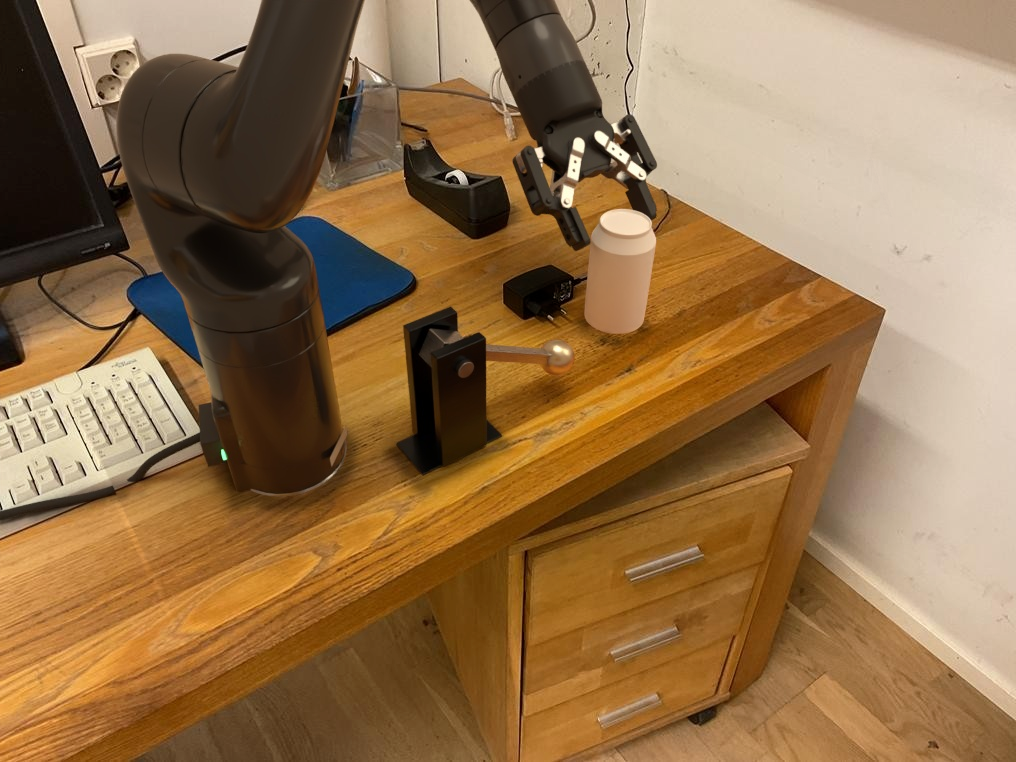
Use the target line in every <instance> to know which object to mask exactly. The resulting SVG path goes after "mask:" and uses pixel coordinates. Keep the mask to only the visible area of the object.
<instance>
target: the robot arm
mask: <svg viewBox="0 0 1016 762" xmlns="http://www.w3.org/2000/svg"><path fill="white" fill-rule="evenodd" d="M365 2H366V0H260V4H259V8H258V12H257V15H256V19H255V22H254V25H253V29H252V31H251V34H250V37H249V40H248V43H247V46H246V48H245V51H244V52H243V55H242V57H241V60H240V62H239V64H238V66H236V65H233V64H228V63H226V62H222V61H217V60H214V59H210V58H205V57H203V56H202V57H201V56H197V55H193V54H188V53H166V54H162V55H158V56H156V57H154V58H151V59H149V60H146V61H145V62H144V63H142V64H141V65H140V66H139V67H137V68H136V69H135V71H134V72H133V73H132V74H131V75H130V77H129V78H128V80H127V82H126V83H125V85H124V86H123V89H122V92H121V94H120V98H119V101H118V105H117V110H116V111H117V112H116V123H115V124H116V125H115V127H116V128H115V129H116V130H115V131H116V142H117V149H118V154H119V159H120V163H121V166H122V170H123V172H124V177H125V180H126V183H127V185H128V189H129V191H130V194H131V196H132V199H133V200H132V201H133V202H134V205H135V207H136V210H137V212H138V215H139V218H140V221H141V223H142V226H143V229H144V231H145V234H146V237H147V239H148V242H149V244H150V247H151V249H152V252H153V255H154V257H155V260H156V262H157V265H158V267H159V268H160V270H161V272H162V273H163V275H164V276H165V278H166V279H167V280H168V282H169V283H170V284H171V285H172V286H173V288H175V289H176V291H177V292H178V293H179V296H180V297H181V300H182V302H183V306H184V310H185V311H186V315H187V318H188V321H189V325H190V328H191V331H192V334H193V338H194V341H195V345H196V348H197V351H198V354H199V355H198V356H199V358H200V361H201V364H202V367H203V371H204V375H205V377H206V378H205V379H206V381H207V384H208V387H209V390H210V402H205V403H200V404H198V423H199V432H197V433H195V434H193V435H191V436H188V437H187V438H184V439H182V440H180V441H177V442H175V443H173V444H171V445H168V446H167V447H165V448H163V449H161V450H159V451H158V452H156V453H154V454H153V455H151V456H149V458H148V459H146V460H145V461H144V462H142V464H141V465H140V466H139V467H138V469H137V470H136V471H135V472H134V473H133V474H132V475H131V476H130V477H128V478H127V479H126V482H129V483H135V482H140V481H141V480H142V479H143V478H144V477H145V475H146V474H147V473H148V472H149V471H150V470H151V468H153V467H154V466H156V465H157V464H158V463H160V462H161V461H164V460H165V459H167V458H169V457H171V456H172V455H174V454H177V453H179V452H181V451H183V450H185V449H187V448H190V447H192V446H194V445H197V444H200V447H201V451H202V453H203V456H204V459H205V462H206V465H207V467H208V468H210V467H214V466H219V465H224V464H227V466H228V469H229V472H230V476H231V479H232V482H233V486H234V489H235V492H237V493H242V492H247V491H251V492H254V493H256V494H259V495H262V496H267V497H291V496H296V495H301V494H304V493H308V492H309V491H312V490H315V489H316V488H319V487H321V486H323V484H325V483H327V482H328V481H329V480H331V479H332V478H333V477H334V476H335V475H336V474H337V473H338V471H339V470H340V469H341V467H342V466H343V464H344V462H345V460H346V457H347V453H348V452H347V451H348V446H347V440H346V439H347V436H348V434H349V433H348V428H347V425H345V426H344V428H343V423H342V416H341V410H340V405H339V398H338V393H337V387H336V382H335V381H336V380H335V375H334V369H333V363H332V358H331V352H330V351H331V350H330V345H329V339H328V334H327V327H326V322H325V317H324V316H325V315H324V310H323V303H322V298H321V297H322V296H321V291H320V286H319V280H318V279H319V278H318V274H317V269H316V264H315V259H314V256H313V254H312V252H311V250H310V249H309V247H308V246H307V245H306V243H305V242H304V241H303V240H302V239H300V237H299V236H298V235H296V234H295V233H294V232H293V231H292V230H291V229H289V228H288V227H287V224H289V223H290V222H291V221H292V220H293V219H294V218H296V217H297V215H298V214H299V213H300V211H301V210H302V209H303V207H304V206H305V204H306V203H307V202H308V199H309V198H310V196H311V194H312V192H313V189H314V187H315V185H316V183H317V180H318V178H319V175H320V174H321V170H322V167H323V164H324V161H325V158H326V154H327V150H328V147H329V144H330V139H331V135H332V131H333V127H334V123H335V121H336V116H337V112H338V111H337V110H338V107H339V103H340V99H341V94H342V90H343V86H344V82H345V77H346V73H347V69H348V65H349V61H350V56H351V53H352V49H353V44H354V41H355V38H356V37H355V36H356V32H357V28H358V26H359V25H358V24H359V21H360V19H361V14H362V11H363V9H364V6H365ZM469 2H470V3H471V5H472V7H473V8H474V9H475V11H476V12H477V14H478V16H479V17H480V20H481V22H482V24H483V26H484V29H485V31H486V33H487V35H488V38H489V40H490V42H491V45H492V47H493V50H494V51H495V54H496V56H497V58H498V62H499V65H500V69H501V73H502V75H503V77H504V80H505V82H506V85H507V87H508V89H509V92H510V93H511V96H512V98H513V101H514V102H515V105H516V107H517V110H518V112H519V114H520V116H521V118H522V120H523V123H524V125H525V128H526V130H527V132H528V134H529V136H530V138H531V139H532V140H534V141H536V146H537V147H533V146H532V145H526V146H524V147H523V148H522V149H521V150H520V151H519V152H518V153H517V154H516V155H515V156H513V158H512V165H513V167H514V170H515V173H516V175H517V178H518V180H519V183H520V186H521V188H522V191H523V193H524V196H525V198H526V202H527V203H528V206H529V209H530V211H531V213H532V215H534V216H536V217H539V216H541V215H549V216H551V217H553V218H554V219H555V221H556V223H557V225H558V228H559V230H560V233H561V234H562V236H563V240H564V241H565V244H566V245H567V246H568V247H569V248H572V250H573V251H574V252H578V251H580V250H583V249H584V248H586V247H588V246H589V245H590V244H591V237H590V236H589V232H588V231H587V228H586V226H585V224H584V222H583V219H582V217H581V214H580V213H579V211H578V208H577V207H576V206H573V202H574V195H575V189H576V187H577V185H578V183H581V182H582V181H584V180H585V179H591V178H592V179H594V178H595V177H599V176H600V175H601V176H602V177H604V178H606V179H607V180H608V179H609V180H610V179H611V180H614V181H615V182H617V183H618V184H619V185H620V186H622V187H623V188H624V189H626V191H625V192H624V193H625V196H626V197H627V201H628V203H629V204H630V206H631V210H635V211H638V212H641V213H643V214H645V215H646V216H648V217H649V218H650V220H651V222H652V221H653V220H655V219H657V216H658V215H657V211H658V209H657V205H656V202H655V200H654V197H653V195H652V192H651V191H650V189H649V186H648V184H647V177H648V176H649V175H650V174H651V173H652V172H653V171H655V170H656V169H657V168H658V163H657V160H656V158H655V156H654V154H653V152H652V150H651V148H650V146H649V144H648V142H647V140H646V138H645V136H644V134H643V131H642V129H641V128H640V126H639V124H638V122H637V119H636V118H635V115H633V114H631V113H627V114H626V115H624V116H623V117H621V118H620V119H619V120H618V121H615V122H613V123H610V122H609V121H608V120H607V119H606V117H605V116H604V114H603V100H602V97H601V95H600V93H599V91H598V89H597V86H596V84H595V82H594V79H593V76H592V74H591V72H590V70H589V68H588V65H587V64H586V63H587V62H586V61H585V59H584V56H583V54H582V52H581V49H580V47H579V45H578V43H577V40H576V38H575V37H574V35H573V33H572V32H571V29H569V27H568V25H567V23H566V21H565V20H564V18H563V16H562V14H561V12H560V9H559V7H558V5H557V2H556V0H469ZM617 144H618V145H617ZM612 160H613V162H612ZM544 165H546V167H548V168H550V169H551V170H552V173H551V179H550V184H549V183H548V180H547V177H546V175H545V171H544V170H543V166H544ZM572 206H573V207H572ZM116 494H117V492H116V489H115V487H114V486H113V485H110V486H107V487H103V488H101V489H97V490H93V491H89V492H84V493H78V494H73V495H68V496H62V497H57V498H56V497H55V498H51V499H46V500H42V501H41V500H40V501H35V502H32V503H26V504H23V505H19V506H15V507H11V508H7V509H2V510H0V521H4V520H7V519H10V518H14V517H20V516H22V515H27V514H31V513H36V512H40V511H45V510H49V509H55V508H61V507H66V506H72V505H76V504H81V503H86V502H90V501H94V500H98V499H103V498H106V497H109V496H112V495H116Z"/></svg>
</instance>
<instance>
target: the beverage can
mask: <svg viewBox="0 0 1016 762" xmlns="http://www.w3.org/2000/svg"><path fill="white" fill-rule="evenodd" d="M652 225H653V222H652V221H651V220H650V218H649V217H648V216H646V215H645V214H643V213H641V212H638V211H635V210H633V209H631V208H615V209H611V210H608V211H605V212H604V213H603V214H602V215H601V216H600V218H599V222H598V223H597V225H596V226H595V228H594V229H593V230H592V232H591V235H590V241H591V243H590V246H589V256H588V266H587V277H586V278H587V279H586V286H585V287H586V289H585V299H584V312H583V313H584V319H585V321H586V322H587V324H588V325H590V326H591V327H592V328H594V329H595V330H598V331H600V332H602V333H605V334H606V333H607V334H612V335H613V334H614V335H622V334H628V333H632V332H634V331H636V330H638V329H639V328H640V327H641V326H643V324H644V321H645V315H646V310H647V306H648V305H647V304H648V297H649V291H650V285H651V279H652V272H653V266H654V260H655V252H656V247H657V237H656V235H655V232H654V230H653V227H652Z"/></svg>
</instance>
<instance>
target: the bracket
mask: <svg viewBox="0 0 1016 762" xmlns="http://www.w3.org/2000/svg"><path fill="white" fill-rule="evenodd" d="M458 319H459V317H458V311H457V310H455V308H454V307H452V306H448V307H445V308H443V309H440V310H438V311H435V312H432V313H429V314H428V315H425V316H423V317H420V318H418V319H415V320H412V321H410V322H407V323H405V324H403V325H402V329H403V340H404V352H405V363H406V375H407V386H408V397H409V408H410V419H411V421H410V422H411V430H412V431H411V432H412V433H413V435H411V436H408V437H406V438H404V439H402V440H399V441H398V442H395V445H396V447H397V448H398V450H400V452H402V454H403V455H404V456H405V457H406V458H407V460H408V461H409V462H410V463H411V464H412V466H413V467H414V468H415V469H416V470H417V471H418V472H419V473H420V475H421V476H422V477H424V476H427V475H428V474H431V473H432V472H434V471H436V470H438V469H440V468H442V467H446V466H448V465H449V464H452V463H454V462H456V461H458V460H460V459H463V458H464V457H466V456H469V455H470V454H472V453H474V452H476V451H478V450H480V449H482V448H484V447H486V446H487V445H488V444H490V443H492V442H495V441H497V440H499V439H501V438H502V437H503V434H502V433H501V432H500V431H499V430H498V429H497V428H496V427H495V426H494V425H493V424H492V423H491V422H490V421H489V420H488V419H487V361H486V344H487V338H486V337H485V336H484V335H483V334H482V333H481V332H480V331H478V332H475V333H473V334H470V335H468V336H465V337H464V338H463V339H461V340H458V341H456V342H454V343H451V344H449V345H446V346H444V347H442V348H439V349H437V350H434V351H432V352H431V366H430V365H429V364H428V363H427V362H426V361H425V360H424V359H423V358H422V357H421V356H420V355H419V353H420V350H421V348H422V346H423V343H424V341H425V338H426V336H427V334H428V331H429V329H440V330H451V331H457V332H458V333H459V321H458Z"/></svg>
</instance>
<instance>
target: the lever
mask: <svg viewBox="0 0 1016 762" xmlns="http://www.w3.org/2000/svg"><path fill="white" fill-rule="evenodd" d="M463 338H465V337H464V336H463V335H461V333H459V331H458V332H457V331H451V330H440V329H429V331H428V334H427V336H426V338H425V341H424V343H423V346H422V348H421V350H420V353H419V355H420V356H421V357H422V358H423V359H424V360H425V361H426V362H427V363H428V364H429V365H430V366H431V352H432V351H434V350H437V349H439V348H442V347H444V346H446V345H449V344H451V343H454V342H456V341H458V340H461V339H463ZM486 362H498V363H499V362H500V363H501V362H502V363H517V364H533V365H534V364H535V365H536V364H537V365H540V367H541V368H542V370H543V371H544V372H545V373H547V374H549V375H552V376H561V375H564V374H566V373H567V372H569V371H570V370H571V369H572V368H573V366H574V362H575V351H574V349H573V347H572V345H570V344H569V343H568V342H567V341H565V340H563V339H559V338H558V339H557V338H555V339H550V340H548V341H547V342H546V341H545V343H544V344H542V346H541V347H540V348H539V347H538V348H537V347H528V346H527V347H526V346H511V345H501V344H499V345H498V344H487V343H486Z"/></svg>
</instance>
